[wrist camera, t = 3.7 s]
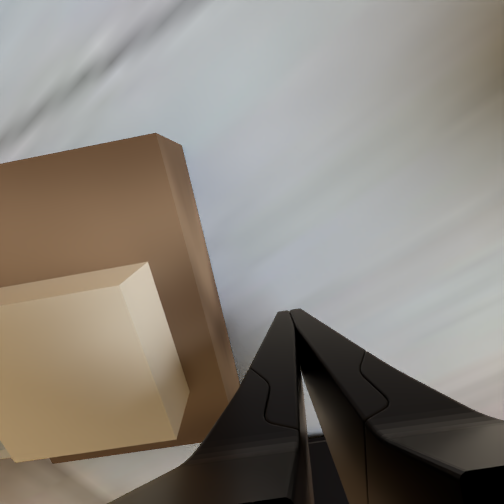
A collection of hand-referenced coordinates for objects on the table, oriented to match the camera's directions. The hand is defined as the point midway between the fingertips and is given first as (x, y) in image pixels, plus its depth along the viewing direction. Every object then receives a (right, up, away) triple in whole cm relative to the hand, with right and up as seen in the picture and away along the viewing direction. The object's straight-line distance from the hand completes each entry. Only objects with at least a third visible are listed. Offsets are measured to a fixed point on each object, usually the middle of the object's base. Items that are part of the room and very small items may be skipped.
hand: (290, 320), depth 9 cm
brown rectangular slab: (-8, 0, +3) cm, 8 cm away
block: (-8, -1, +1) cm, 8 cm away
